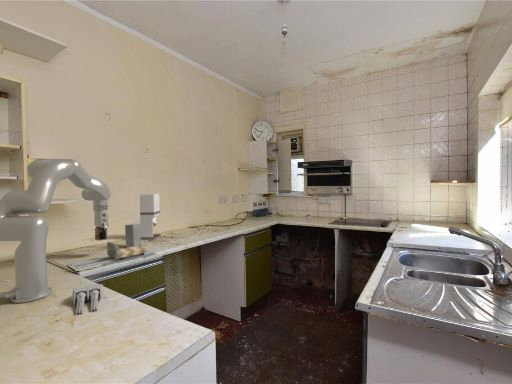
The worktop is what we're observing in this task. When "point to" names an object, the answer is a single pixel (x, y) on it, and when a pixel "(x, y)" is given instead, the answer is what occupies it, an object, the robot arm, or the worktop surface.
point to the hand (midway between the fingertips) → (101, 237)
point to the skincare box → (133, 235)
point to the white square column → (149, 215)
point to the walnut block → (97, 234)
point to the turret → (87, 296)
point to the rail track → (109, 260)
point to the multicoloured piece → (123, 251)
